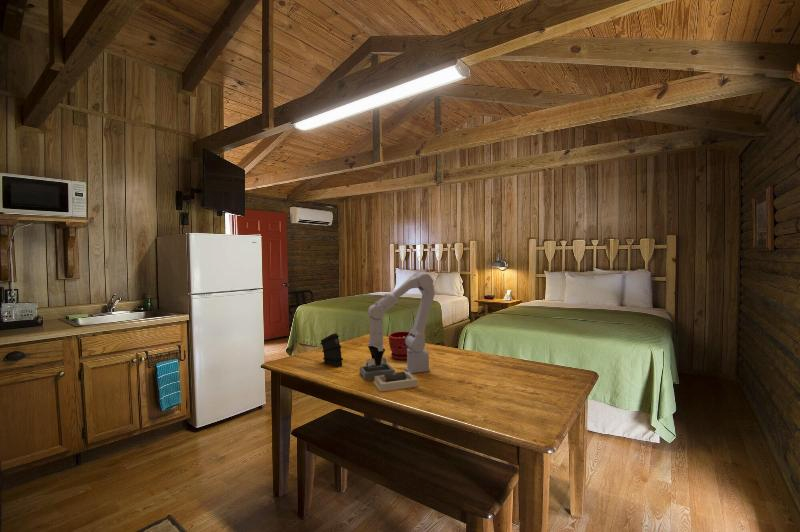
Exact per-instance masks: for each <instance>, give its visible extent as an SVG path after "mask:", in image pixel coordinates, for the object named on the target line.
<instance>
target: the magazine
mask: <svg viewBox="0 0 800 532" xmlns="http://www.w3.org/2000/svg"><path fill="white" fill-rule="evenodd" d="M339 337H340V335H339V334H338V333H336V332H335V333H331V334H330V335H327V336H325V337H324V338H323V339H321V340H320V343H319V344H320V345H321V347H322V349H323V350H322V351H321V352H322V353H323V358H322V360H324V361H323V363H324V364H327V363H328V364H327V365H330V364H331V365H330V366H334V367H336V368H339V367H341V366H343V361H344V358H343V357H342V350H341V349H342V345H341V343H340V339H339ZM338 366H339V367H338Z"/></svg>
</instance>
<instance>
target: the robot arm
mask: <svg viewBox="0 0 800 532" xmlns="http://www.w3.org/2000/svg"><path fill="white" fill-rule="evenodd" d="M434 286H435V285H434V280H433V278H432V276H431V275H430V274H428V273H423V272H419V271H418V272H415V273H413V275H411V276H409V277H408V278H407V280H405V281H404V282H403V283H402V284H401V285H400V286H399V287H397V289H395V290H394V291H393V292H391V293H389V292H388V293H384V294H383V297H382V298H380V299H379V300H377V301H375V302H374V304H371V305H369V307H368V309H367V315H368V316H369V324H368V325H369V328H368V329H369V330H368V331H369V342H367V343H366V345H367V346H368V350H369V352H370V356H371V358H374V359H375V364H376V365H381V361H382V357H384V353H385V352H386V349H385V348H384V338H383V337H384V335H383V333H384V331H383V330H384V329H383V327H384V326H383V318H384V317H385V313H387V311H389V310H390V309H392V307H393V306H395V305H396V304H397V301H398V299H399V298H401V296H403V295H404V294H406V293H407V292H409V291H410V290H411V289H418V290H419V291H420V293H421V298H420V302H419V304H418V305H419V306H418V308H417V313H416V315H415V319H414V323H413V326H412V328H411V329H410V330H409V331H408V332H409V335H408V336H407V337H406V339H405V343H406V345H407V346H408V348H407V359H406V365H407V366H405V367H404V370H406V372H409V373H410V374H416V373H425V372H430V355H429V351H428V350H427V349H425V347H426V340H425V339H426V333H425V329H426V327H427V326H426V325H427V322H428V320H429V316H430V311H431V308H432V305H433V301H434V298H435V295H436V294H435V293H436V291H435V287H434Z"/></svg>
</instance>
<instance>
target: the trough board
mask: <svg viewBox="0 0 800 532" xmlns="http://www.w3.org/2000/svg"><path fill="white" fill-rule="evenodd" d="M404 372H405V374H406V380H400V381H392V382H385V381H384V375H380V376H374V380H372V383H373V385H374V387H376V389H377V390H378V392H387V391H394V390H401V389H409V388H415V387H419V383H418V378H417V377H415V376H414V375H413V373H409V372H408V371H404Z"/></svg>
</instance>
